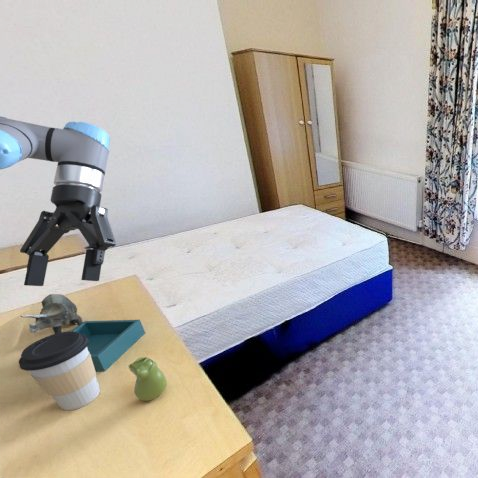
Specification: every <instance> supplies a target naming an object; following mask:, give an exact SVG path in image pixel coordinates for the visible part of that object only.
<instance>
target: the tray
mask: <svg viewBox="0 0 478 478" xmlns="http://www.w3.org/2000/svg"><path fill="white" fill-rule="evenodd" d="M71 331H73V332H77V333H79V334H82V335H85V336H86V337H87V338H88V339H89V344H88V346H87V349H88V351H89V352H90V355H91V358H92V361H93V365H94V368H95V371H96V373H97V372H106V371H107V370H108V369H109V368H110V367H111V366H112V365H114V363H115V362H117V360H119V359H120V358H121V357H122V356H123V355H124V354H125V353H126V352H127V351H128V350H129V349H130V348H131V347H133V346H134V344H136V342H137V341H139V340H140V339H141V338H142V337H143V336H144V335H146V331H145V329H144V326H143V323H142V321H141V319H116V320H115V319H114V320H113V319H112V320H84V321H83V323H82V324H80V325H79V326H78V325H77V326H76V327H74V328H73V329H72V330H71Z"/></svg>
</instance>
